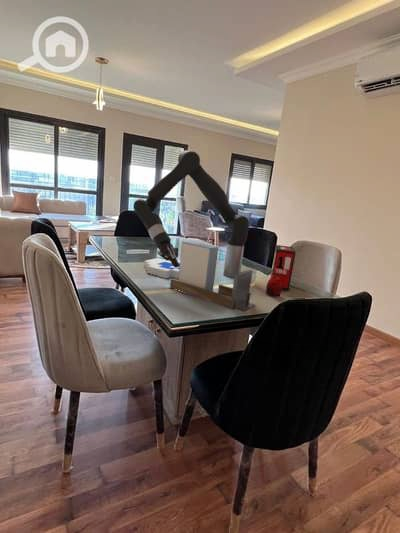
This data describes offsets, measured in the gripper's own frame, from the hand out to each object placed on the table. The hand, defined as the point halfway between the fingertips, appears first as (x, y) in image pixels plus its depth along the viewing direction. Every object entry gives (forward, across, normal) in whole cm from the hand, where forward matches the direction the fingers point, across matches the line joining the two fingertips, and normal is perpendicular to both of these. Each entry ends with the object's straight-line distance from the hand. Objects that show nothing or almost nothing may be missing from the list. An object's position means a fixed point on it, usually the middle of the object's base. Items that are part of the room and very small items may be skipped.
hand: (177, 266), depth 145 cm
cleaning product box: (+30, +44, -18) cm, 56 cm away
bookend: (+31, -1, -19) cm, 37 cm away
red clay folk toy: (+33, +25, -20) cm, 46 cm away
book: (+14, 0, -2) cm, 14 cm away
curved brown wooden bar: (+19, 0, -7) cm, 20 cm away
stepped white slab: (-6, +18, +18) cm, 26 cm away
